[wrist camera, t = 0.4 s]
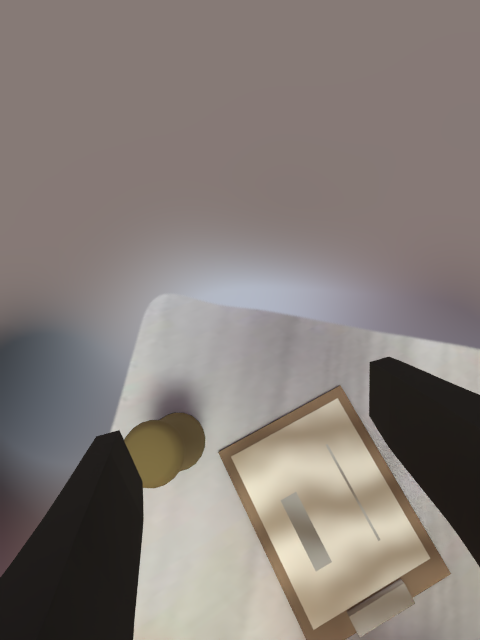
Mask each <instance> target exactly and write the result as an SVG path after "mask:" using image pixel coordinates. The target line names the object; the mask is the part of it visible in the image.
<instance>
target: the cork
mask: <svg viewBox="0 0 480 640" xmlns="http://www.w3.org/2000/svg"><path fill="white" fill-rule="evenodd" d="M124 442H125V444H126V446H127V448H128V450H129V453H130V455H131V457H132V459H133V461H134V464H135V466H136V468H137V470H138V473H139V475H140V477H141V479H142V482H143V488H157V487H160V486H163V485H165V484H167V483H168V482H170V481H171V480H172V479H174V478H175V476H176V475H177V474H178V472H179V471H182V470H185V469H188V468H190V467H191V466H193V465H194V464H196V462H197V461H198V460H199V458H200V457H201V456H202V453H203V450H204V448H205V435H204V431H203V428H202V427H201V425H200V423H199V422H198V421H197V420H196V419H195V418H194V417H192V416H191V415H188V414H185V413H172V414H169V415H167V416H165V417H164V418H162V419H161V420H150V421H146V422H143V423H140V424H139V425H137V426H136V427H134V428H133V429H132V430H131V431H130V433H129V434H128V435H127V436H126V438H125V439H124Z"/></svg>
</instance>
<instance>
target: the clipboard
mask: <svg viewBox="0 0 480 640" xmlns="http://www.w3.org/2000/svg"><path fill="white" fill-rule="evenodd" d="M218 453H219V455H220V457H221V459H222V461H223V463H224V466H225V468H226V470H227V472H228V474H229V476H230V478H231V480H232V483H233V485H234V487H235V489H236V491H237V493H238V495H239V497H240V500H241V502H242V504H243V506H244V508H245V510H246V512H247V514H248V517H249V519H250V521H251V523H252V525H253V527H254V529H255V531H256V534H257V536H258V538H259V540H260V542H261V544H262V546H263V548H264V551H265V553H266V555H267V557H268V559H269V561H270V563H271V565H272V568H273V570H274V572H275V574H276V576H277V578H278V580H279V582H280V585H281V587H282V589H283V591H284V593H285V595H286V597H287V599H288V602H289V604H290V606H291V608H292V610H293V612H294V614H295V616H296V619H297V621H298V623H299V625H300V627H301V629H302V631H303V633H304V636H305V638H306V640H345V639H347V638H348V637H350V636H352V635H353V634H355V633H356V632H357V634H358V635H359V637H362V636H364V635H365V634H367V633H368V632H370V631H372V630H373V629H375V628H376V627H378V626H380V625H381V624H383V623H384V622H386V621H388V620H389V619H391V618H392V617H394V616H396V615H397V614H399V613H401V612H402V611H404V610H405V609H407V608H409V607H410V606H412V605H413V604H415V602H414V600H413V597H415V596H416V595H418V594H419V593H421V592H423V591H424V590H426V589H427V588H429V587H431V586H432V585H434V584H436V583H437V582H439V581H440V580H442V579H444V578H445V577H447V576H448V575H450V574H451V573H450V571H449V570H448V568H447V566H446V564H445V563H444V561H443V559H442V558H441V556H440V554H439V553H438V551H437V549H436V547H435V546H434V544H433V542H432V541H431V539H430V537H429V536H428V534H427V532H426V530H425V529H424V527H423V525H422V524H421V522H420V520H419V518H418V517H417V515H416V513H415V512H414V510H413V508H412V507H411V505H410V503H409V501H408V500H407V498H406V496H405V495H404V493H403V491H402V490H401V488H400V486H399V484H398V483H397V481H396V479H395V478H394V476H393V474H392V473H391V471H390V469H389V467H388V466H387V464H386V462H385V461H384V459H383V457H382V456H381V454H380V452H379V450H378V449H377V447H376V445H375V444H374V442H373V440H372V439H371V437H370V435H369V433H368V432H367V430H366V428H365V427H364V425H363V423H362V422H361V420H360V418H359V416H358V415H357V413H356V411H355V410H354V408H353V406H352V405H351V403H350V401H349V399H348V398H347V396H346V394H345V393H344V391H343V389H342V387H341V386H338V387H337V388H335V389H333V390H331V391H329V392H327V393H326V394H324V395H322V396H320V397H318V398H316V399H315V400H313V401H311V402H309V403H307V404H305V405H304V406H302V407H300V408H298V409H296V410H294V411H293V412H291V413H289V414H287V415H285V416H283V417H282V418H280V419H278V420H276V421H274V422H272V423H271V424H269V425H267V426H265V427H263V428H261V429H260V430H258V431H256V432H254V433H252V434H250V435H249V436H247V437H245V438H243V439H241V440H239V441H238V442H236V443H234V444H232V445H230V446H228V447H227V448H225V449H223V450H221V451H219V452H218Z"/></svg>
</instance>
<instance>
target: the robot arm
mask: <svg viewBox="0 0 480 640" xmlns="http://www.w3.org/2000/svg"><path fill="white" fill-rule="evenodd" d="M369 416H370V417H371V419H372V421H373V422H374V424H375V426H376V427H377V429H378V431H379V432H380V434H381V436H382V437H383V439H384V440H385V442H386V443H387V445H388V447H389V448H390V449H391V450H392V452H393V453H394V454H395V456H396V457H397V458H398V459H399V461H400V462H401V463H402V464H403V466H404V467H405V468H406V469H407V471H408V472H409V473H410V474H411V476H412V477H413V478H414V479H415V481H416V482H417V483H418V484H419V486H420V487H421V488H422V489H423V491H424V492H425V493H426V494H427V496H428V497H429V498H430V499H431V501H432V502H433V503H434V504H435V506H436V507H437V508H438V509H439V511H440V512H441V513H442V514H443V516H444V517H445V518H446V519H447V521H448V522H449V523H450V525H451V526H452V527H453V529H454V530H455V531H456V533H457V534H458V535H459V537H460V538H461V540H462V541H463V543H464V544H465V546H466V547H467V549H468V550H469V552H470V553H471V555H472V556H473V558H474V559H475V561H476V562H477V564H478V565H479V567H480V395H479V394H476V393H474V392H471V391H469V390H466V389H464V388H462V387H459V386H457V385H454V384H452V383H450V382H447V381H445V380H443V379H441V378H438V377H436V376H434V375H431V374H429V373H427V372H425V371H422V370H420V369H418V368H415V367H413V366H411V365H408V364H406V363H404V362H401V361H399V360H396V359H394V358H391V357H387V358H383V359H379V360H376V361H372V362H370V391H369ZM142 532H143V482H142V479H141V477H140V475H139V473H138V470H137V468H136V466H135V464H134V461H133V459H132V457H131V455H130V453H129V450H128V448H127V446H126V444H125V442H124V439H123V437H122V435H121V433H120V431H115V432H111V433H108V434H104V435H100V436H97V437H96V438H95V439H94V441H93V443H92V444H91V446H90V447H89V449H88V450H87V452H86V454H85V455H84V456H83V458H82V460H81V461H80V463H79V465H78V466H77V468H76V469H75V471H74V472H73V474H72V475H71V477H70V479H69V480H68V482H67V483H66V485H65V486H64V488H63V489H62V491H61V492H60V494H59V495H58V497H57V498H56V500H55V501H54V503H53V505H52V506H51V507H50V509H49V511H48V512H47V514H46V515H45V517H44V518H43V519H42V521H41V522H40V524H39V525H38V527H37V528H36V529H35V531H34V532H33V534H32V535H31V537H30V538H29V539H28V541H27V542H26V543H25V545H24V546H23V548H22V549H21V551H20V552H19V553H18V555H17V556H16V558H15V559H14V560H13V562H12V563H11V564H10V566H9V567H8V568H7V570H6V571H5V573H4V574H3V575H2V576H1V577H0V640H133V633H134V618H135V607H136V597H137V586H138V575H139V565H140V554H141V543H142Z"/></svg>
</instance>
